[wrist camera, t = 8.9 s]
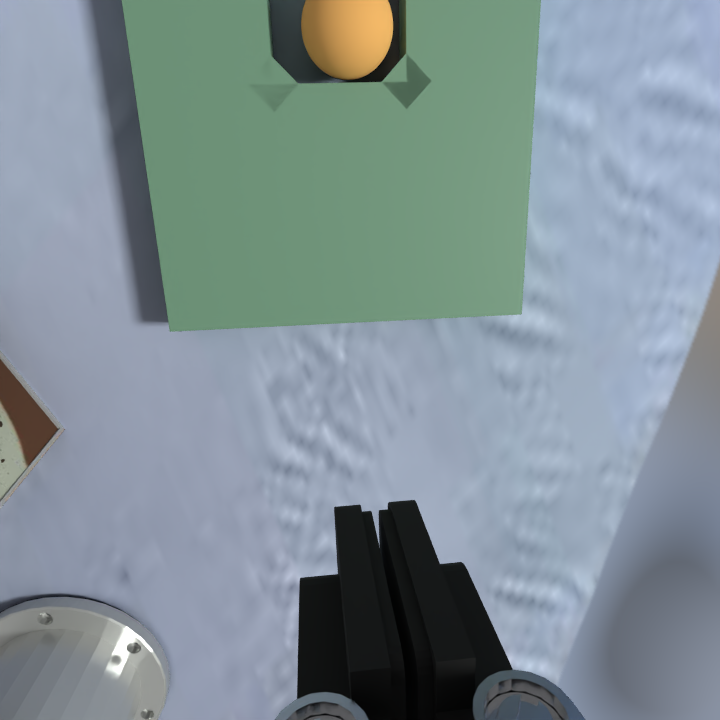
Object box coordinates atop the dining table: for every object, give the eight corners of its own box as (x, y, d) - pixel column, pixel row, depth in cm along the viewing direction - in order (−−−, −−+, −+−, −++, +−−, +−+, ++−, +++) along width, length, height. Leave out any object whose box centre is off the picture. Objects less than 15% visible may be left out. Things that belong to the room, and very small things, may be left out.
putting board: (507, 306, 29) (521, 314, 27) (180, 322, 27) (169, 331, 26) (531, -136, 23) (551, -168, 21) (115, -140, 22) (96, -174, 20)
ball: (381, 1, 24) (388, 91, 25) (297, 3, 24) (305, 95, 24) (397, -54, 20) (404, 54, 21) (296, -53, 20) (306, 58, 20)
